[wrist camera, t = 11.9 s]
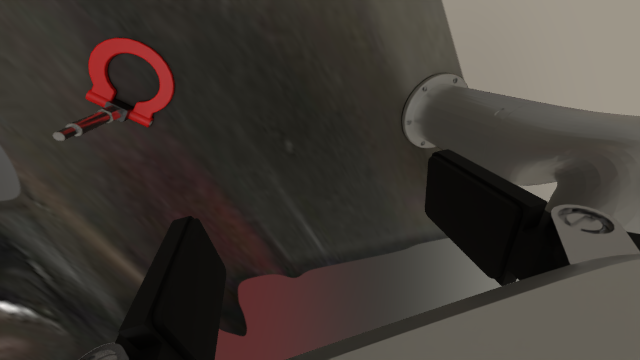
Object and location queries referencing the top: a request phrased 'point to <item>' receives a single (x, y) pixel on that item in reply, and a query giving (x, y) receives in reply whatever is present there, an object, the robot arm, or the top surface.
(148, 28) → the top surface
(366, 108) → the top surface
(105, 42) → the tow hook
